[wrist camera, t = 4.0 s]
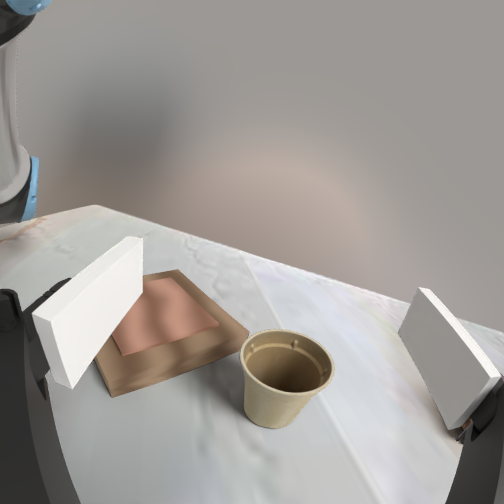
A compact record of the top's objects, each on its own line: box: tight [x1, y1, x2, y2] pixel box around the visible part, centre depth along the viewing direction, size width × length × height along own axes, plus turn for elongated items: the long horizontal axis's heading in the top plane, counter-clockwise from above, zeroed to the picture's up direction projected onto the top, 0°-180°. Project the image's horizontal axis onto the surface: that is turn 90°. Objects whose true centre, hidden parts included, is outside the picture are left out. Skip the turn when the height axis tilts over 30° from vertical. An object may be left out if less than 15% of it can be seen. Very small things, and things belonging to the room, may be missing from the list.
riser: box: [94, 269, 249, 397], centre depth 38 cm, size 20×20×4 cm
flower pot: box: [240, 329, 335, 429], centre depth 27 cm, size 9×9×9 cm
